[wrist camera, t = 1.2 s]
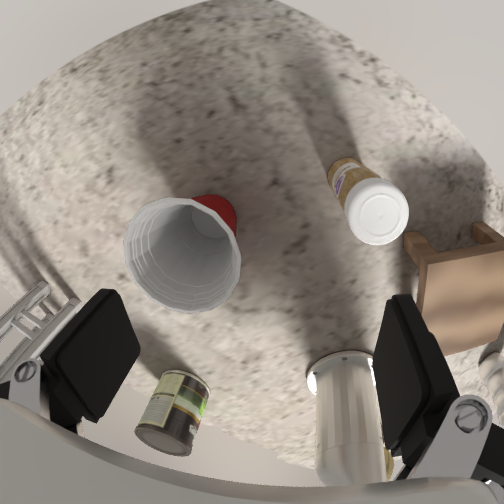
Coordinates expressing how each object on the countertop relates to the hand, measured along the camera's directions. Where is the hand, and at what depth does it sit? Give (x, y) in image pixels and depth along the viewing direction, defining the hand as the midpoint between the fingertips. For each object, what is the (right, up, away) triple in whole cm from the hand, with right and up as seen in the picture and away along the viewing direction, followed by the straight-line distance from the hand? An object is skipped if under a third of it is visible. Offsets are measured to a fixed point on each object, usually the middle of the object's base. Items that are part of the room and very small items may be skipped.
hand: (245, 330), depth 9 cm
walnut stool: (+26, 0, +23) cm, 35 cm away
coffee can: (-13, -24, +41) cm, 49 cm away
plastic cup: (-4, +7, +25) cm, 26 cm away
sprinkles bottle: (+11, +11, +20) cm, 25 cm away
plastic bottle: (+48, -19, +29) cm, 59 cm away
